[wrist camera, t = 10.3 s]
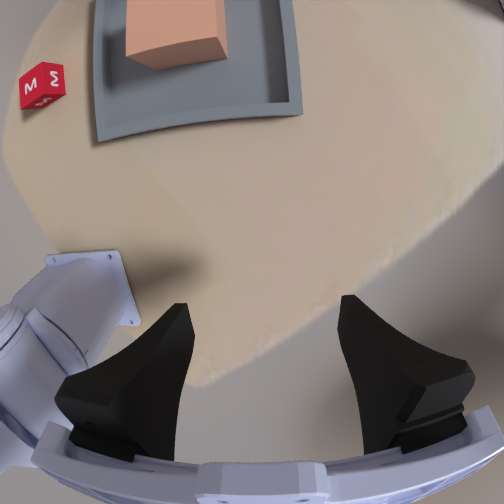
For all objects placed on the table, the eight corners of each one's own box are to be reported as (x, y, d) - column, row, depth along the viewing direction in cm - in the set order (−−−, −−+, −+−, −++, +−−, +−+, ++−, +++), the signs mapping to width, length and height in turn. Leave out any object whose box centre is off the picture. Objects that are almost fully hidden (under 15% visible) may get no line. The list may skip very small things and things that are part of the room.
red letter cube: (63, 64, 15) (41, 61, 12) (66, 94, 16) (44, 93, 13) (40, 79, 15) (18, 78, 12) (42, 108, 16) (20, 109, 14)
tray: (110, 139, 18) (98, 141, 16) (107, -8, 12) (97, -15, 10) (298, 115, 17) (303, 114, 16) (281, -41, 11) (283, -52, 10)
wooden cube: (156, 70, 15) (125, 56, 11) (155, 13, 13) (128, -12, 9) (227, 58, 15) (217, 36, 11) (224, 1, 13) (213, -32, 8)
